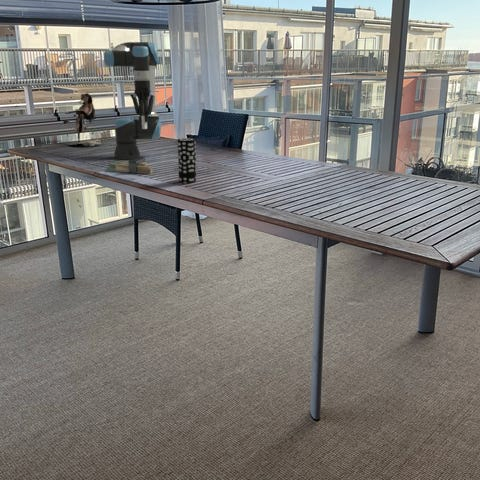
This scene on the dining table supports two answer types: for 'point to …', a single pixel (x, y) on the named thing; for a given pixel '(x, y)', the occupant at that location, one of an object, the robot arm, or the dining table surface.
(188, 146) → the white-spotted black cylinder
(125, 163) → the tongs jaw
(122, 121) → the robot arm
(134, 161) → the collar
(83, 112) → the figurine
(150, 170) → the bar
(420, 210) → the dining table surface
